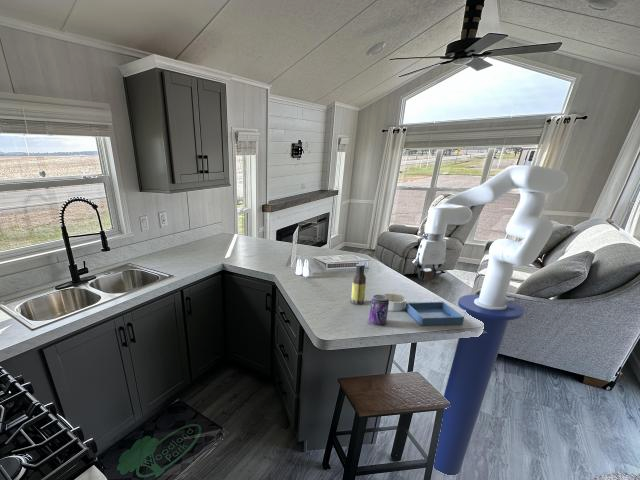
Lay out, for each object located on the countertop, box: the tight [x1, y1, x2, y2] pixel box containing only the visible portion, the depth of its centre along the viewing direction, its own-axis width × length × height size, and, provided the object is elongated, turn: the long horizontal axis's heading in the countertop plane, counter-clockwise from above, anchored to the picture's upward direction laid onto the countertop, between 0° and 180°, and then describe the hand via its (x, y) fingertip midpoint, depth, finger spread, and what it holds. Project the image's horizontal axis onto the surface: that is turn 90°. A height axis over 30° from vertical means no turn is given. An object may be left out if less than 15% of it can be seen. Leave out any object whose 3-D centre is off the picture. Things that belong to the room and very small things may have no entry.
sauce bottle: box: [350, 262, 367, 305], centre depth 161 cm, size 6×6×20 cm
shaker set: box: [295, 258, 314, 279], centre depth 202 cm, size 12×4×11 cm, turn 32°
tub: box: [404, 301, 465, 326], centre depth 147 cm, size 17×16×4 cm
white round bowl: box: [382, 293, 407, 312], centre depth 158 cm, size 11×11×4 cm
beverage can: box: [368, 294, 389, 326], centre depth 142 cm, size 7×7×12 cm
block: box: [422, 267, 435, 281], centre depth 143 cm, size 4×4×4 cm
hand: (426, 277), depth 144 cm, fingers closed on block, 4 cm apart
